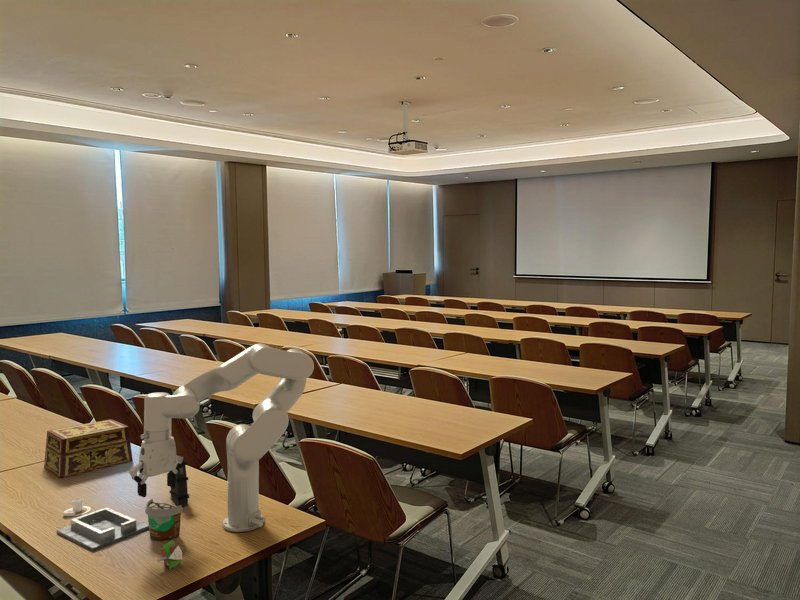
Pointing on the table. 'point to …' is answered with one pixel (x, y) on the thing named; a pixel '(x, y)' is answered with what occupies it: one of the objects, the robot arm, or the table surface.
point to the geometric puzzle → (171, 554)
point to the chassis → (101, 528)
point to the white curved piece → (76, 508)
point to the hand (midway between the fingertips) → (157, 491)
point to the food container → (163, 520)
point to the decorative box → (87, 447)
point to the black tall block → (180, 487)
